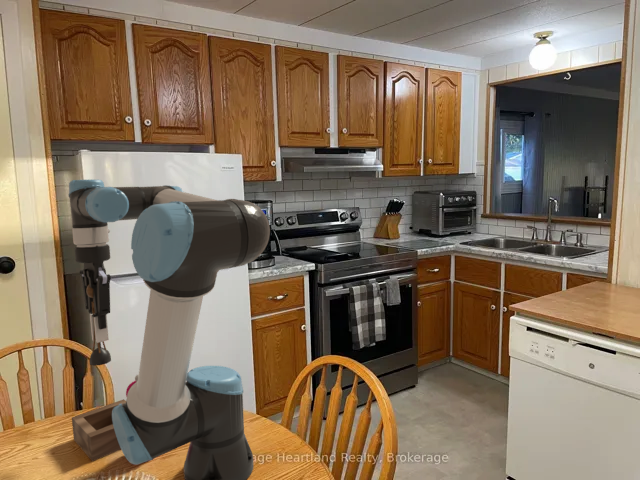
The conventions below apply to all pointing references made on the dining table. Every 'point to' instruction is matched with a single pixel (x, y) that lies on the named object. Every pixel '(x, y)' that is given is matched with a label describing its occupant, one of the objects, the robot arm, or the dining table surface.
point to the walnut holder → (96, 431)
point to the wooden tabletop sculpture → (99, 354)
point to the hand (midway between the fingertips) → (100, 339)
